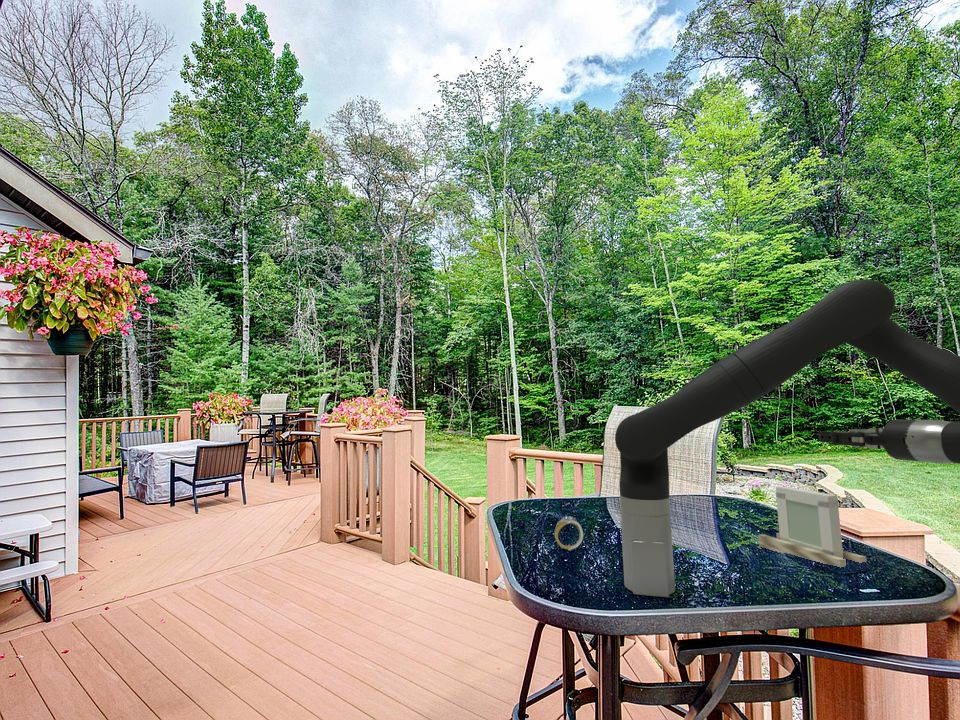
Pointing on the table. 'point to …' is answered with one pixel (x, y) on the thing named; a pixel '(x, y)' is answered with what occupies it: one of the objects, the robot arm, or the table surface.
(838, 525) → the frame
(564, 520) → the bracelet
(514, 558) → the table surface
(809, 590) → the table surface
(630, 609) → the table surface
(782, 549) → the ledge
